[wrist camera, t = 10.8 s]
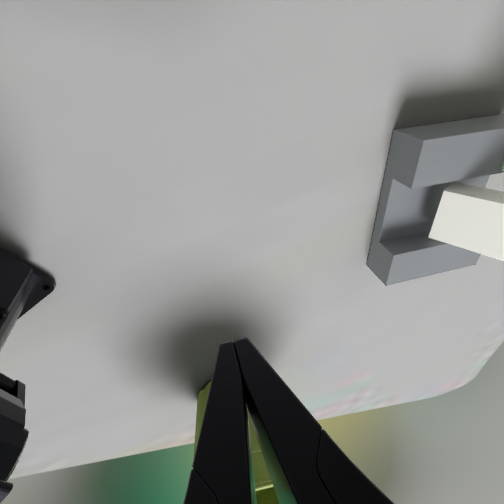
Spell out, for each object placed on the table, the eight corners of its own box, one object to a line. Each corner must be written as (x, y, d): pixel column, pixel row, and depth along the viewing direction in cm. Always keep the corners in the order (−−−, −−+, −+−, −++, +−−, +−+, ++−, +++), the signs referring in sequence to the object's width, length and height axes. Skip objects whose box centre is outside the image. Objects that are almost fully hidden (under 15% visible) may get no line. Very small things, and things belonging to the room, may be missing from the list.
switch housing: (366, 265, 28) (387, 287, 25) (393, 129, 21) (426, 141, 18) (449, 246, 29) (477, 265, 26) (501, 114, 22) (546, 122, 19)
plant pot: (151, 396, 31) (147, 540, 22) (248, 341, 30) (286, 469, 21) (213, 430, 38) (229, 549, 29) (293, 386, 37) (336, 496, 28)
